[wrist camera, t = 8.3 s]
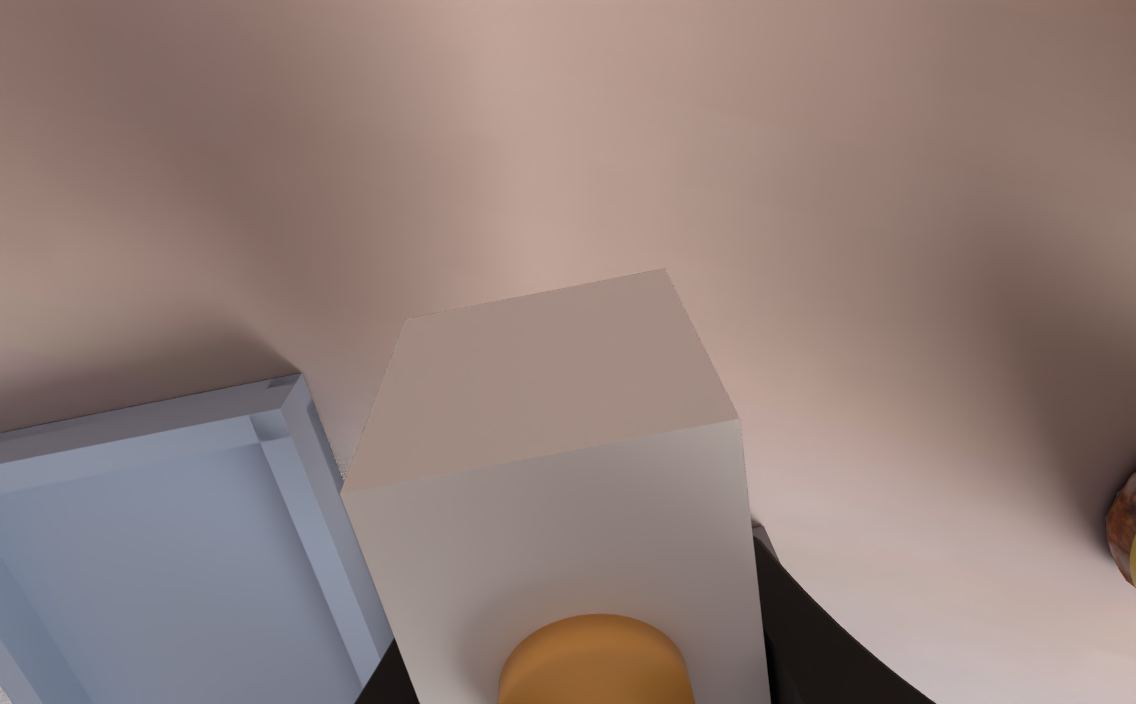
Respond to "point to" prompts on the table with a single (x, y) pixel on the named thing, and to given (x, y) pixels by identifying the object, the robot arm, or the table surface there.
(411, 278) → the table surface
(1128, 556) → the sauce bottle
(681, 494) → the white block with knob
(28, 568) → the tray
